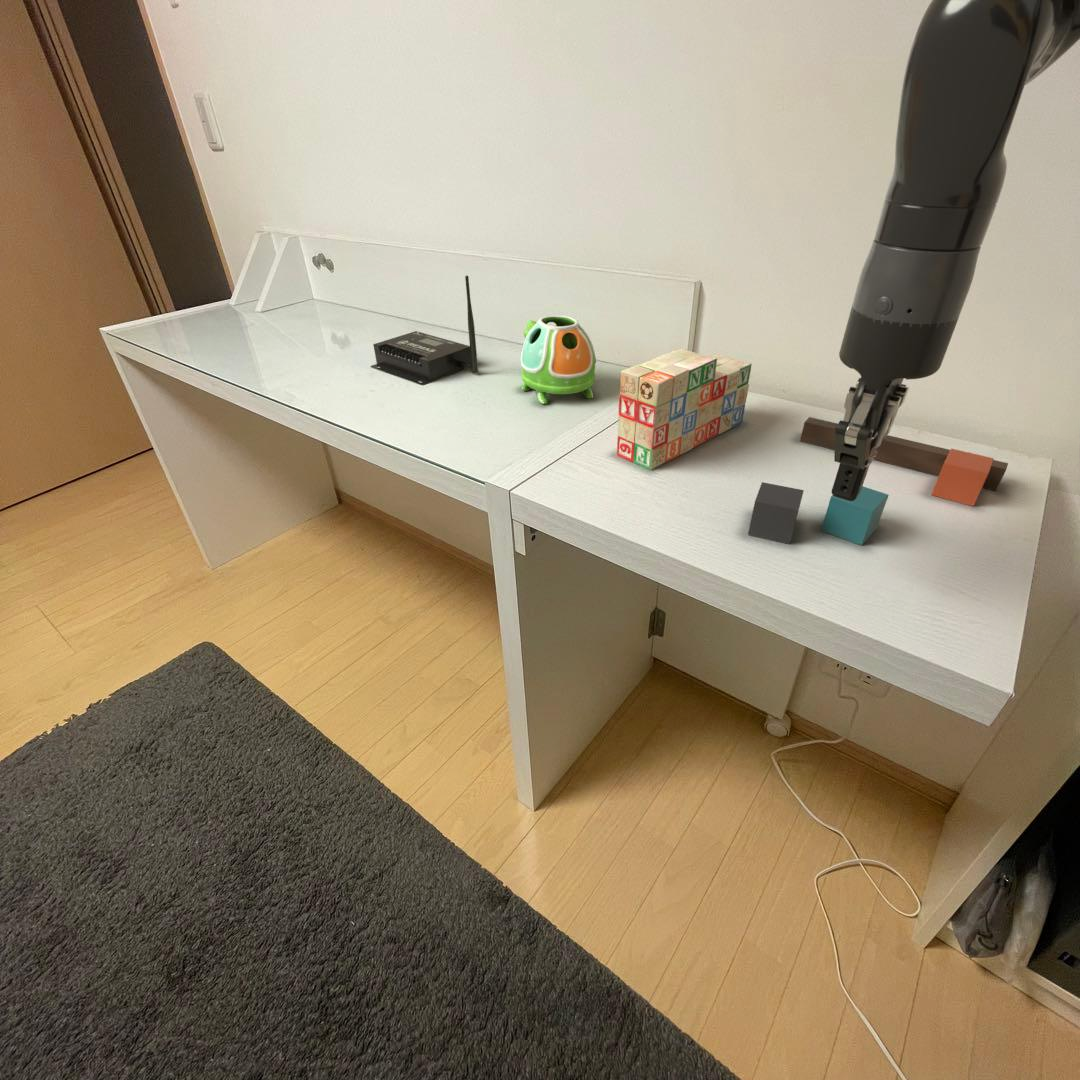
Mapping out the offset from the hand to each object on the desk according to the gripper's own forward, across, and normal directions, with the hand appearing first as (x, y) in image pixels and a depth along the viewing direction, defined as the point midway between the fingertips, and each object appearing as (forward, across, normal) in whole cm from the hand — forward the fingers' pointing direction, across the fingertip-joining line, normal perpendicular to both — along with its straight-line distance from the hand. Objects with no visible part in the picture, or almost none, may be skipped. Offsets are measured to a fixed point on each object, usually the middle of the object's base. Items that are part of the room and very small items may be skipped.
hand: (844, 495), depth 58 cm
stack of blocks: (+10, +19, +26) cm, 34 cm away
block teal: (+9, +10, 0) cm, 13 cm away
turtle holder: (+10, +24, +53) cm, 59 cm away
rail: (+9, +30, 0) cm, 31 cm away
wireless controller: (+10, +19, +79) cm, 82 cm away
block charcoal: (+9, +4, +7) cm, 12 cm away
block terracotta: (+9, +25, -8) cm, 28 cm away
